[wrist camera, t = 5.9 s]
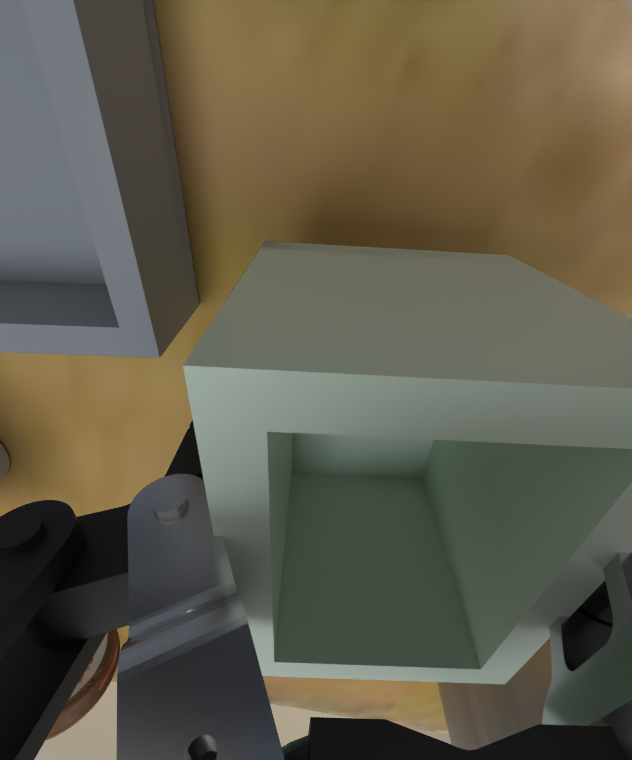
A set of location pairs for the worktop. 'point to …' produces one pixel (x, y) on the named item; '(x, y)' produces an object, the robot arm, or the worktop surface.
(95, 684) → the tin
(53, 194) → the large crate
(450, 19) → the worktop surface
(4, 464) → the coffee cup
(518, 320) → the small crate
